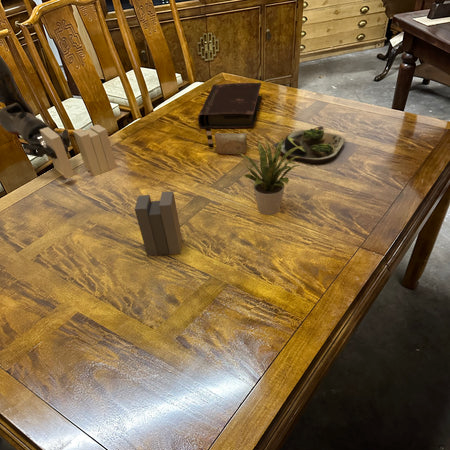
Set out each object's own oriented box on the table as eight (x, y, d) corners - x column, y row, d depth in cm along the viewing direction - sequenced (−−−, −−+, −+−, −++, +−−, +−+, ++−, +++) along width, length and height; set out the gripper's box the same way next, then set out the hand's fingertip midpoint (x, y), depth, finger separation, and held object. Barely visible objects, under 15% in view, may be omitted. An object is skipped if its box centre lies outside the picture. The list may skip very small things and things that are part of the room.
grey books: (180, 253, 91) (170, 204, 82) (147, 255, 91) (133, 207, 82) (182, 239, 94) (173, 191, 85) (150, 241, 95) (137, 193, 86)
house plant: (316, 207, 99) (323, 141, 87) (278, 235, 93) (279, 167, 81) (271, 187, 107) (271, 124, 95) (232, 211, 100) (228, 147, 89)
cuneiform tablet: (209, 147, 125) (249, 146, 123) (206, 157, 122) (247, 156, 120) (205, 126, 119) (247, 125, 117) (203, 136, 116) (245, 135, 114)
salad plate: (296, 128, 129) (296, 113, 126) (352, 137, 122) (355, 122, 119) (267, 156, 118) (267, 140, 115) (328, 168, 111) (329, 152, 108)
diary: (198, 129, 134) (196, 113, 130) (212, 98, 151) (210, 83, 147) (256, 128, 131) (255, 112, 127) (263, 97, 148) (263, 82, 144)
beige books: (86, 170, 121) (72, 131, 112) (108, 161, 123) (97, 122, 115) (93, 176, 118) (80, 136, 109) (117, 166, 121) (105, 127, 112)
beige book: (74, 175, 114) (60, 136, 106) (66, 178, 113) (51, 139, 105) (62, 165, 119) (48, 126, 111) (54, 168, 118) (39, 129, 110)
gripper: (6, 128, 114) (29, 149, 104) (54, 112, 119) (80, 130, 109) (18, 154, 119) (41, 176, 109) (63, 137, 125) (89, 157, 115)
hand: (60, 153), depth 110 cm, fingers closed on beige book, 2 cm apart
